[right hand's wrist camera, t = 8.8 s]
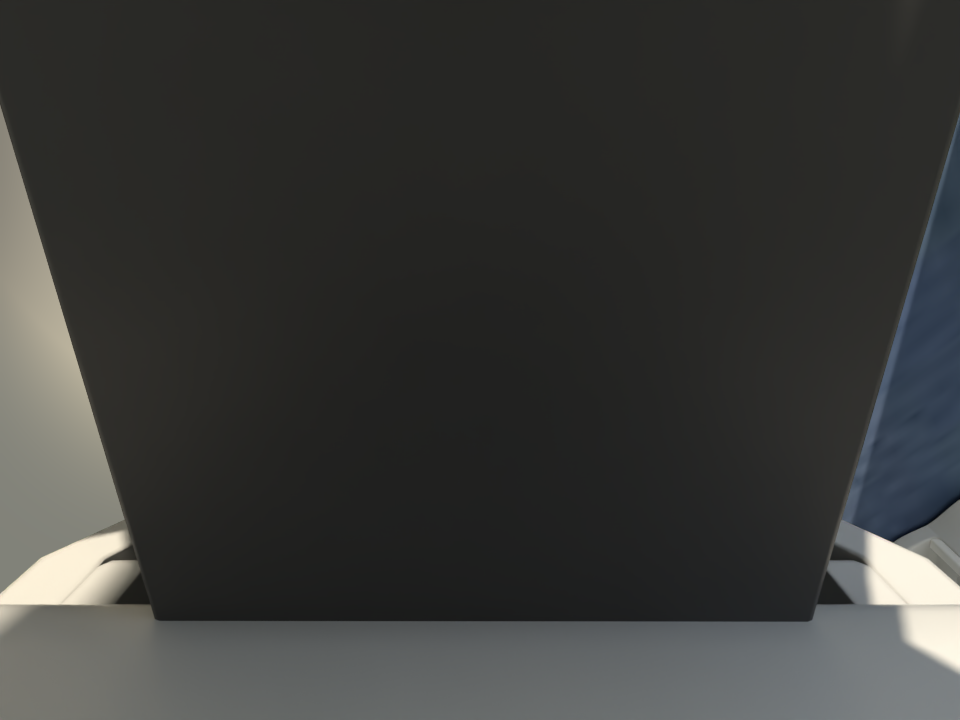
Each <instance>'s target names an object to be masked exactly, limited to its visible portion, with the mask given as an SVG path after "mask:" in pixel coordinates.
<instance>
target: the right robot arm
mask: <svg viewBox="0 0 960 720" xmlns="http://www.w3.org/2000/svg"><path fill="white" fill-rule="evenodd" d="M0 720H960V499H959V500H958V501H957V502H955V503H954V504H953V505H952V506H950V507H949V508H948V509H947V510H946V511H945V512H943V513H942V514H941V515H940V516H939V517H938V518H936V519H935V520H934V521H932V522H931V523H929V524H928V525H926V526H924V527H922V528H919V529H917V530H915V531H913V532H911V533H909V534H907V535H905V536H903V537H901V538H899V539H897V540H896V541H894V542H893V543H892V542H890V541H888V540H886V539H883V538H881V537H879V536H877V535H875V534H872V533H870V532H868V531H866V530H863V529H861V528H859V527H857V526H855V525H852V524H850V523H848V522H846V521H844V520H841V523H840V526H839V530H838V533H837V536H836V540H835V543H834V547H833V550H832V554H831V557H830V560H829V564H828V567H827V571H826V574H825V578H824V581H823V585H822V588H821V591H820V595H819V598H818V602H817V605H816V609H815V612H814V616H813V619H812V620H811V621H808V622H629V621H158V620H156V619H155V618H154V615H153V611H152V608H151V605H150V601H149V598H148V595H147V591H146V588H145V585H144V581H143V578H142V575H141V571H140V568H139V565H138V561H137V558H136V555H135V551H134V548H133V545H132V541H131V538H130V535H129V531H128V528H127V525H126V521H125V520H123V521H121V522H119V523H117V524H114V525H112V526H110V527H108V528H105V529H103V530H101V531H99V532H97V533H94V534H92V535H90V536H88V537H86V538H83V539H81V540H79V541H77V542H75V543H73V544H70V545H68V546H66V547H64V548H62V549H59V550H57V551H55V552H53V553H51V554H48V555H46V556H44V557H42V558H40V559H39V560H38V561H37V562H36V563H35V564H33V565H32V566H31V567H30V568H29V569H28V570H27V571H25V572H24V573H23V574H22V575H21V576H20V577H19V578H18V579H16V580H15V581H14V582H13V583H12V584H11V585H10V586H9V587H7V588H6V589H5V590H4V591H3V592H2V593H1V594H0Z"/></svg>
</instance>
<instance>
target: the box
mask: <svg viewBox="0 0 960 720" xmlns="http://www.w3.org/2000/svg"><path fill="white" fill-rule="evenodd" d="M0 105H1V109H2V112H3V115H4V119H5V122H6V125H7V129H8V132H9V135H10V139H11V142H12V145H13V149H14V152H15V155H16V159H17V162H18V165H19V169H20V172H21V175H22V178H23V182H24V185H25V189H26V192H27V195H28V199H29V202H30V205H31V209H32V212H33V215H34V219H35V222H36V225H37V228H38V232H39V235H40V239H41V242H42V245H43V249H44V252H45V255H46V259H47V262H48V265H49V269H50V272H51V275H52V279H53V282H54V285H55V289H56V292H57V295H58V299H59V302H60V305H61V308H62V312H63V315H64V318H65V322H66V325H67V328H68V332H69V335H70V338H71V342H72V345H73V348H74V352H75V355H76V358H77V362H78V365H79V368H80V372H81V375H82V378H83V382H84V385H85V388H86V392H87V395H88V398H89V402H90V405H91V408H92V412H93V415H94V418H95V422H96V425H97V428H98V432H99V435H100V438H101V442H102V445H103V448H104V451H105V455H106V458H107V462H108V465H109V468H110V471H111V475H112V478H113V482H114V485H115V488H116V492H117V495H118V498H119V502H120V505H121V508H122V511H123V515H124V518H125V521H126V525H127V528H128V531H129V535H130V538H131V541H132V545H133V548H134V551H135V555H136V558H137V561H138V565H139V568H140V571H141V575H142V578H143V581H144V585H145V588H146V591H147V595H148V598H149V601H150V605H151V608H152V611H153V615H154V618H155V619H156V620H158V621H629V622H808V621H811V620H812V619H813V616H814V612H815V609H816V605H817V602H818V598H819V595H820V591H821V588H822V585H823V581H824V578H825V574H826V571H827V567H828V564H829V560H830V557H831V554H832V550H833V547H834V543H835V540H836V536H837V533H838V530H839V526H840V523H841V519H842V516H843V512H844V509H845V505H846V502H847V499H848V495H849V492H850V488H851V485H852V481H853V478H854V475H855V471H856V468H857V464H858V461H859V457H860V454H861V450H862V447H863V444H864V440H865V437H866V433H867V430H868V426H869V423H870V419H871V416H872V413H873V409H874V406H875V402H876V399H877V395H878V392H879V389H880V385H881V382H882V378H883V375H884V371H885V368H886V364H887V361H888V358H889V354H890V351H891V347H892V344H893V340H894V337H895V334H896V330H897V327H898V323H899V320H900V316H901V313H902V309H903V306H904V303H905V299H906V296H907V292H908V289H909V285H910V282H911V278H912V275H913V272H914V268H915V265H916V261H917V258H918V254H919V251H920V248H921V244H922V241H923V237H924V234H925V230H926V227H927V223H928V220H929V217H930V213H931V210H932V206H933V203H934V199H935V196H936V192H937V189H938V186H939V182H940V179H941V175H942V172H943V168H944V165H945V162H946V158H947V155H948V151H949V148H950V144H951V141H952V137H953V134H954V131H955V127H956V124H957V120H958V117H959V113H960V0H0Z"/></svg>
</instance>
